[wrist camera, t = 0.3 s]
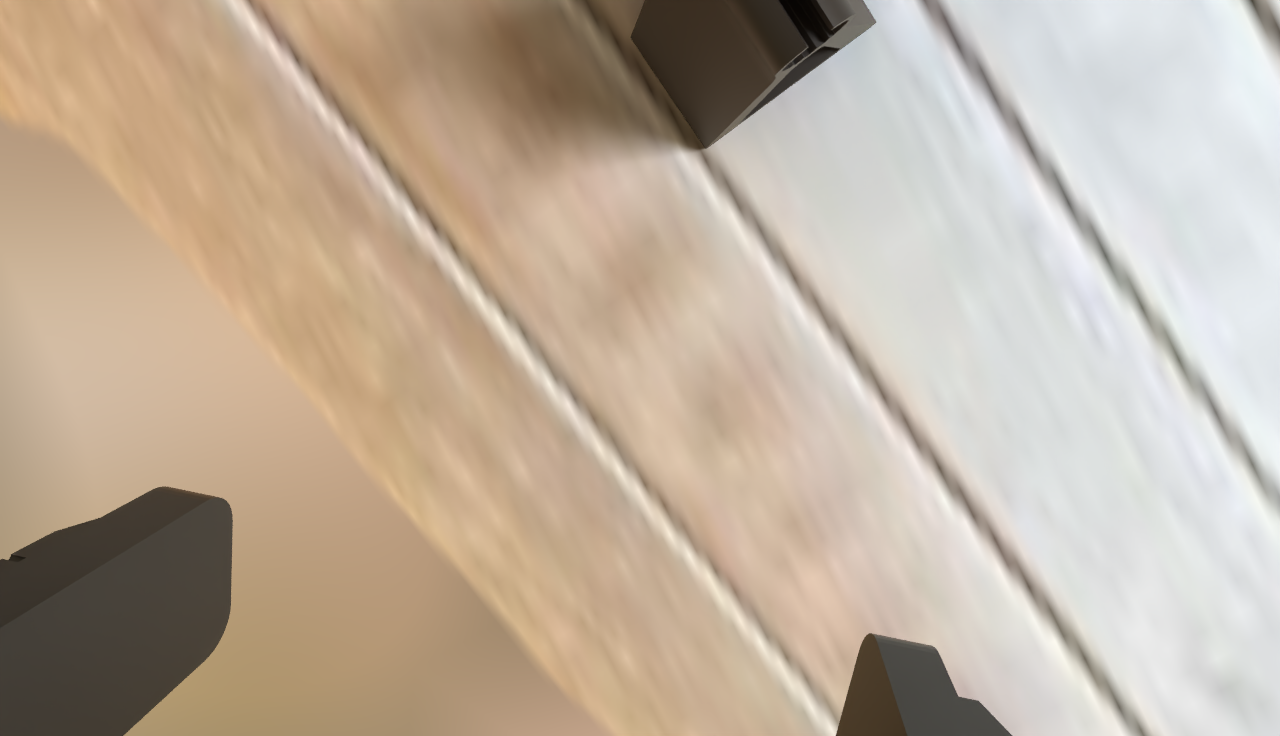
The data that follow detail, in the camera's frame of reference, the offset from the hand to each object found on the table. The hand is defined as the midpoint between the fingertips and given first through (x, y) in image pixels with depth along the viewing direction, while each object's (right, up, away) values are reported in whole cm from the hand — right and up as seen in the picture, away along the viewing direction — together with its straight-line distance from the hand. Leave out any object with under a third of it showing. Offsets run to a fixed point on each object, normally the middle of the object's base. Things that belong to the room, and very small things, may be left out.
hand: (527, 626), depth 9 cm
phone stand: (+6, +18, +24) cm, 31 cm away
